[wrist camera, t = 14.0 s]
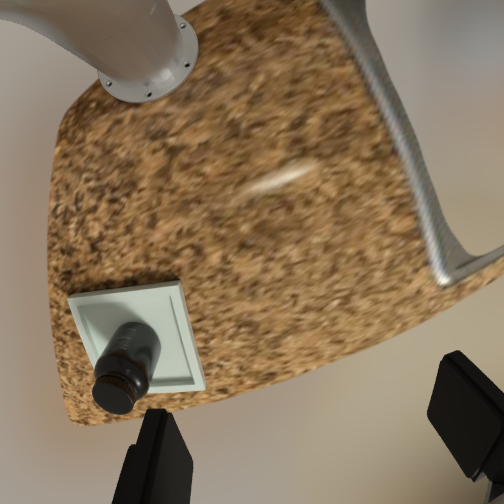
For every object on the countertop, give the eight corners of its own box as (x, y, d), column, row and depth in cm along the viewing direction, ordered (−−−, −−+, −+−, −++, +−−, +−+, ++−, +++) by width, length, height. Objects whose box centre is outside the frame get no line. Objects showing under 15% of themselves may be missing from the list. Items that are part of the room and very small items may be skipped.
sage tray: (72, 293, 37) (67, 298, 35) (180, 279, 37) (178, 285, 35) (108, 386, 41) (105, 393, 39) (206, 382, 41) (205, 390, 40)
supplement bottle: (111, 350, 39) (80, 405, 27) (120, 312, 37) (84, 363, 26) (156, 369, 40) (135, 429, 28) (168, 332, 38) (147, 391, 27)
